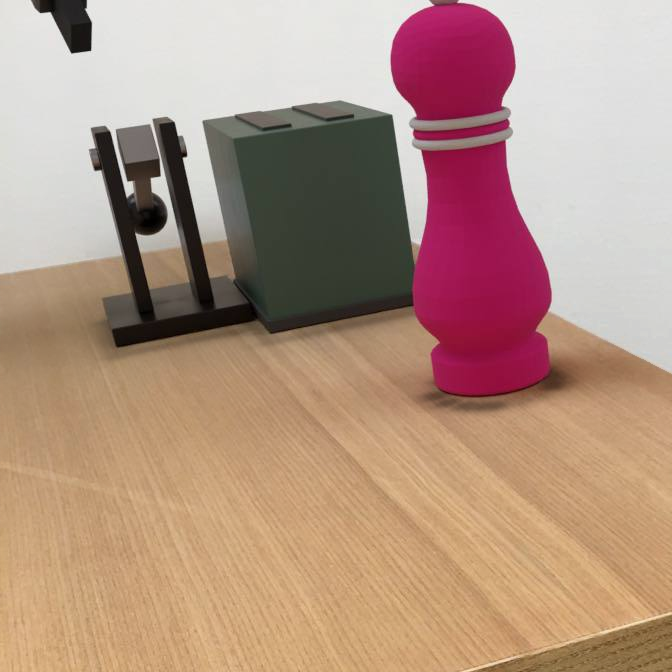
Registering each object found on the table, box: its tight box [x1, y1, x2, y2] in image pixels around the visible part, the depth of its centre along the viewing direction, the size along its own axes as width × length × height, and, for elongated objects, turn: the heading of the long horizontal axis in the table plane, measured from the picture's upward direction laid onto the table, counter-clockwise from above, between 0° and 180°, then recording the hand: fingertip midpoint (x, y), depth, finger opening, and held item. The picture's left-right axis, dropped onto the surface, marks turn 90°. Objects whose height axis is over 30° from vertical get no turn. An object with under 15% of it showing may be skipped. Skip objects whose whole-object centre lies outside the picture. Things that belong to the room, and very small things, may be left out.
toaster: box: [201, 100, 416, 334], centre depth 83 cm, size 14×10×12 cm
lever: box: [115, 123, 169, 237], centre depth 85 cm, size 13×3×3 cm
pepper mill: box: [389, 0, 553, 396], centre depth 61 cm, size 7×7×20 cm
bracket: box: [88, 116, 254, 348], centre depth 82 cm, size 10×9×13 cm
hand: (81, 38), depth 88 cm, fingers closed
